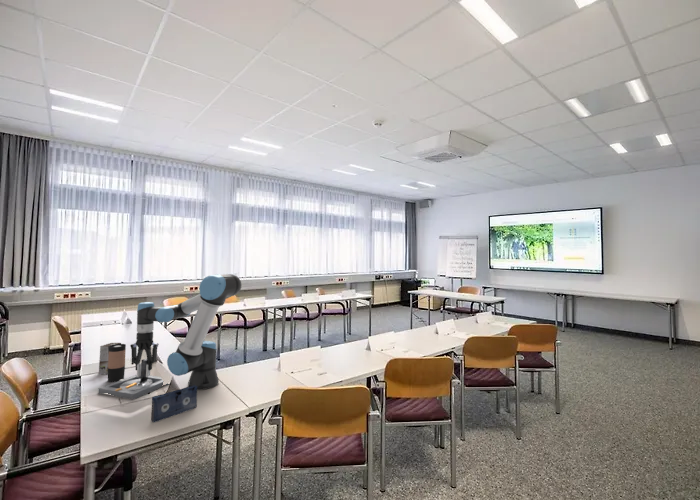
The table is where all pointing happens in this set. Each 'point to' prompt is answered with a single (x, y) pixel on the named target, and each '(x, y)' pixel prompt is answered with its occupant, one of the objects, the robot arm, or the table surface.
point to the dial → (138, 383)
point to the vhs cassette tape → (173, 403)
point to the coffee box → (104, 358)
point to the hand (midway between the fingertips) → (143, 376)
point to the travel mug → (116, 362)
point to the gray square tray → (119, 392)
